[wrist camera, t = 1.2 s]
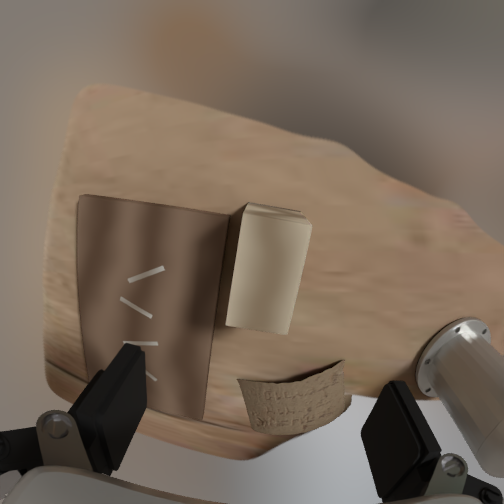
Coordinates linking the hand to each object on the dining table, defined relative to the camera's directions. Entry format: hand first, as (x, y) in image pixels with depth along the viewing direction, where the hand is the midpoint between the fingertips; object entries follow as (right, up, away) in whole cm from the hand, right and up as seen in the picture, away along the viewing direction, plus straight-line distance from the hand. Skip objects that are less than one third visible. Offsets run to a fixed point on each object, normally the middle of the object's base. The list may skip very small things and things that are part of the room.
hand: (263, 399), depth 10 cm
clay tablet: (+5, -13, +25) cm, 29 cm away
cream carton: (+1, +5, +20) cm, 20 cm away
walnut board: (-12, -2, +22) cm, 25 cm away
